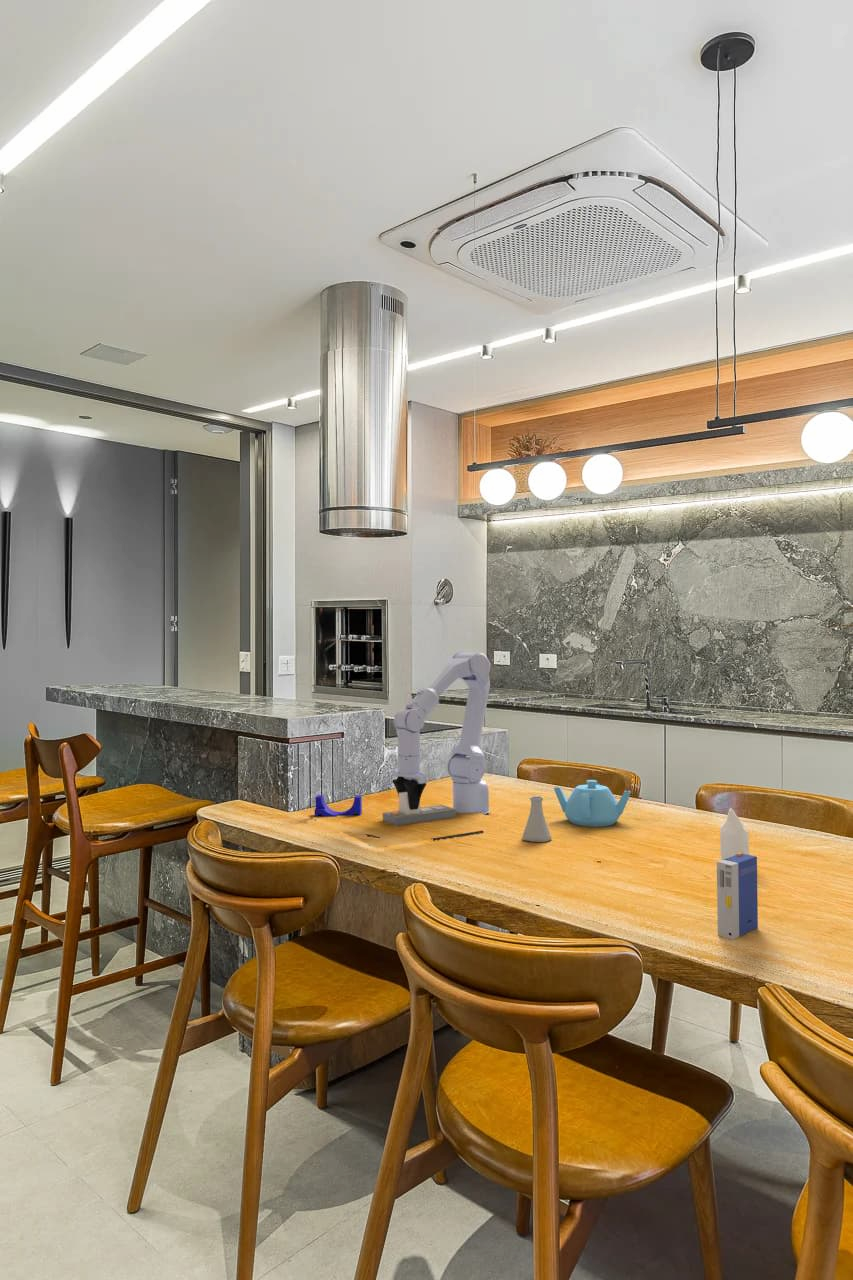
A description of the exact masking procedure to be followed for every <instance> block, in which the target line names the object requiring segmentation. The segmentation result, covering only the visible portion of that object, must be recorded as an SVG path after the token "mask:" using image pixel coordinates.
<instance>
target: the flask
mask: <svg viewBox="0 0 853 1280" xmlns="http://www.w3.org/2000/svg"><path fill="white" fill-rule="evenodd" d="M529 799H530V810H529V815H528V818H527V821H526V824H525V827H524V831H523V834H522V840H523V841H528V842H532V843H533V842H535V843H536V842H537V843H545V842H549V841H552V840H553V839H552V834H551V832H550V828H549V826H548V824H547V821H546V818H545V815H544V810H543V800H544V797H543V796H540V795H533V796H529Z"/></svg>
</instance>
